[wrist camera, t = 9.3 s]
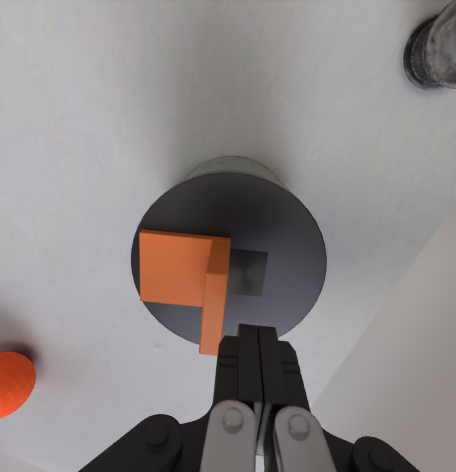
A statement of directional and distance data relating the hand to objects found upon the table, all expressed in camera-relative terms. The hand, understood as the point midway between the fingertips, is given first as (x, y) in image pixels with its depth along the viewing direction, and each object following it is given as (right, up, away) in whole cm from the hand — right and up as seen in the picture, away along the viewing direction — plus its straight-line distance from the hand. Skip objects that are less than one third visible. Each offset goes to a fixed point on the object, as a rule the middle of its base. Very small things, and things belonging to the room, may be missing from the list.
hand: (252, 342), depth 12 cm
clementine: (-27, -11, +24) cm, 38 cm away
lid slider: (-4, +2, +5) cm, 7 cm away
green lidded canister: (-1, +7, +17) cm, 18 cm away
